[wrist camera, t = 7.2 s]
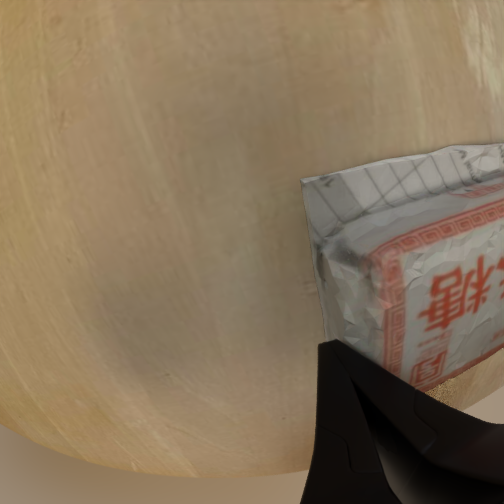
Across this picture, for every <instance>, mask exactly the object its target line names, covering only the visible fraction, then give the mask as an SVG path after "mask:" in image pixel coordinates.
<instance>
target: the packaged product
mask: <svg viewBox="0 0 504 504" xmlns="http://www.w3.org/2000/svg"><path fill="white" fill-rule="evenodd" d="M300 181H301V187H302V193H303V199H304V205H305V212H306V218H307V225H308V231H309V238H310V245H311V252H312V259H313V267H314V274H315V279H316V283H317V288H318V293H319V298H320V302H321V307H322V312H323V320H324V329H325V338H326V342H327V341H330V340H334V339H338V340H340V341H341V342H343V343H344V344H346V345H348V346H349V347H351V348H352V349H354V350H355V351H357V352H359V353H360V354H362V355H363V356H365V357H367V358H368V359H370V360H371V361H373V362H374V363H376V364H378V365H379V366H381V367H383V368H384V369H386V370H387V371H389V372H391V373H392V374H394V375H395V376H397V377H399V378H400V379H402V380H404V381H405V382H407V383H408V384H410V385H412V386H413V387H415V388H416V389H418V390H420V391H422V392H423V393H424V392H426V391H428V390H431V389H433V388H435V387H436V386H437V385H439V384H442V383H444V382H445V381H446V380H448V379H451V378H454V377H456V376H458V375H459V374H461V373H463V372H465V371H466V370H468V369H470V368H471V367H473V366H475V365H476V364H478V363H480V362H482V361H483V360H485V359H487V358H488V357H490V356H491V355H493V354H494V353H496V352H497V351H498V350H500V349H502V348H503V347H504V143H499V144H489V145H456V146H448V147H445V148H443V149H440V150H437V151H435V152H432V153H428V154H420V155H412V156H404V157H397V158H390V159H385V160H381V161H377V162H373V163H369V164H365V165H361V166H357V167H353V168H349V169H345V170H342V171H338V172H334V173H330V174H327V175H321V176H314V177H308V178H302V179H300Z"/></svg>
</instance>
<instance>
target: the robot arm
mask: <svg viewBox="0 0 504 504" xmlns="http://www.w3.org/2000/svg"><path fill="white" fill-rule="evenodd" d="M300 504H504V424H494V423H489V422H485V421H482V420H480V419H478V418H475V417H473V416H470V415H468V414H466V413H464V412H461V411H459V410H457V409H454V408H452V407H450V406H448V405H446V404H444V403H441V402H439V401H437V400H436V399H434V398H432V397H430V396H429V395H427V394H425V393H423V392H422V391H420V390H418V389H416V388H415V387H413V386H412V385H410V384H408V383H407V382H405V381H404V380H402V379H400V378H399V377H397V376H395V375H394V374H392V373H391V372H389V371H387V370H386V369H384V368H383V367H381V366H379V365H378V364H376V363H374V362H373V361H371V360H370V359H368V358H367V357H365V356H363V355H362V354H360V353H359V352H357V351H355V350H354V349H352V348H351V347H349V346H348V345H346V344H344V343H343V342H341V341H340V340H338V339H334V340H330V341H327V342H323V343H320V344H318V370H317V406H316V427H315V441H314V450H313V455H312V460H311V465H310V469H309V473H308V477H307V480H306V484H305V488H304V491H303V495H302V498H301V502H300Z"/></svg>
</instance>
